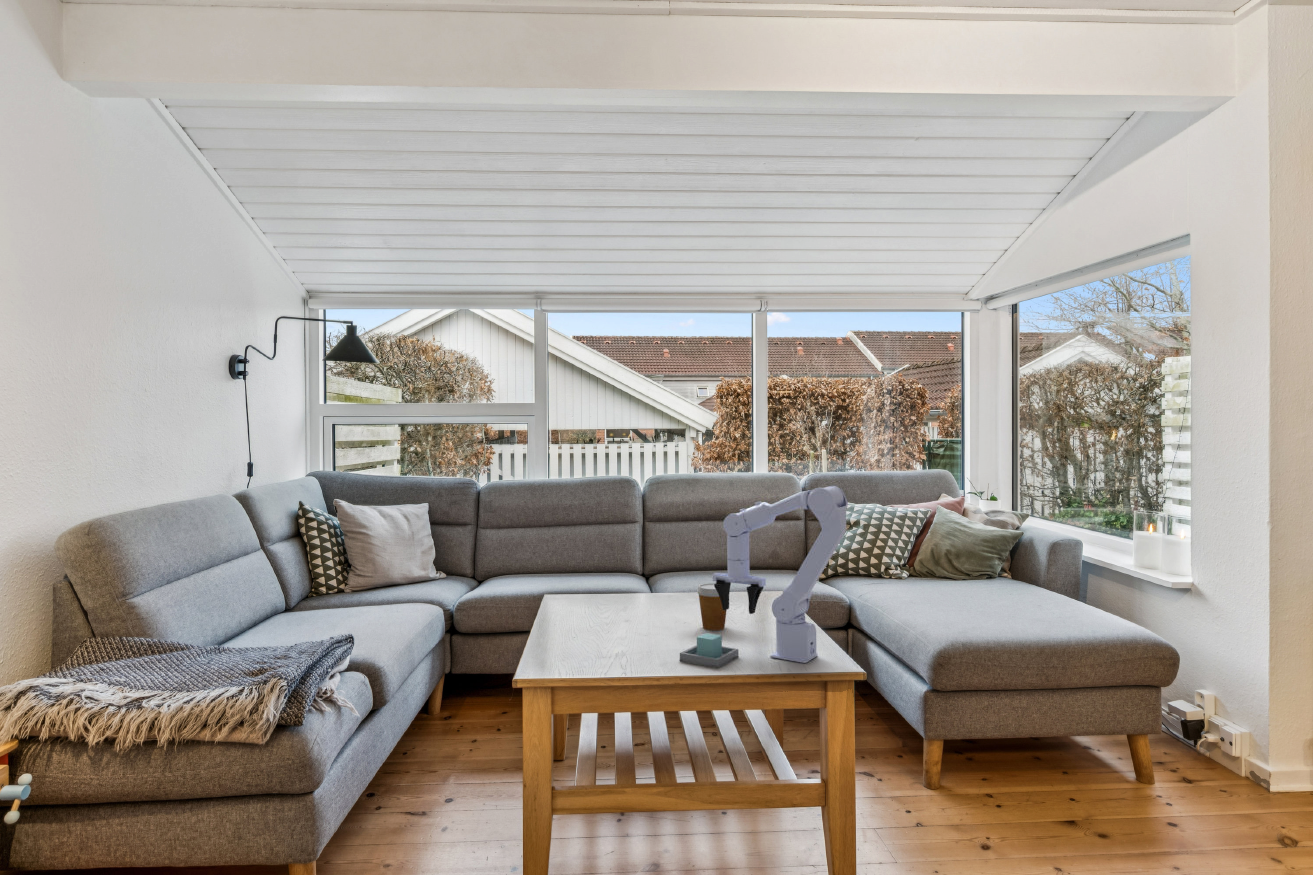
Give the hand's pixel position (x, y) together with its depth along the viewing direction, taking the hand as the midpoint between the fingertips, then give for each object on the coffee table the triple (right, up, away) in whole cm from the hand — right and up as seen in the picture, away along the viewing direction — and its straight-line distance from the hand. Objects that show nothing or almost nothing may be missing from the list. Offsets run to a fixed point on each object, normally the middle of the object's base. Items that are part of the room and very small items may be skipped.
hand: (738, 611), depth 187 cm
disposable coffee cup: (-5, -10, +20) cm, 23 cm away
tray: (-8, -9, -10) cm, 16 cm away
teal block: (-8, -9, -10) cm, 16 cm away
